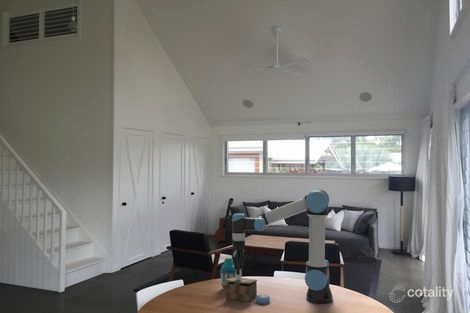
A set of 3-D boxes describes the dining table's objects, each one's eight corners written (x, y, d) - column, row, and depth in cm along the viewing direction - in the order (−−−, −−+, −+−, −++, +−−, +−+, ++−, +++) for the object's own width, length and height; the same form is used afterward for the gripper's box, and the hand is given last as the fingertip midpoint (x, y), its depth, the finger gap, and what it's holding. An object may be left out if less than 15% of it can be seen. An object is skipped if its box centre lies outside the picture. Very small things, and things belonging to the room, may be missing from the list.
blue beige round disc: (271, 300, 212) (271, 295, 212) (266, 305, 205) (266, 299, 205) (259, 298, 216) (258, 293, 216) (253, 303, 209) (253, 297, 209)
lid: (257, 283, 219) (257, 279, 219) (248, 287, 208) (248, 283, 208) (233, 280, 226) (233, 276, 226) (224, 284, 215) (224, 279, 215)
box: (256, 296, 219) (256, 281, 220) (249, 302, 209) (249, 286, 210) (234, 293, 226) (234, 278, 226) (226, 298, 216) (226, 283, 216)
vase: (224, 292, 227) (223, 261, 227) (218, 287, 236) (218, 258, 237) (239, 290, 230) (239, 260, 231) (233, 285, 240) (233, 256, 241)
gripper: (237, 237, 224) (238, 276, 223) (228, 241, 212) (228, 282, 211) (248, 238, 220) (249, 277, 219) (239, 242, 209) (240, 283, 208)
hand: (239, 279), depth 215 cm, fingers closed
